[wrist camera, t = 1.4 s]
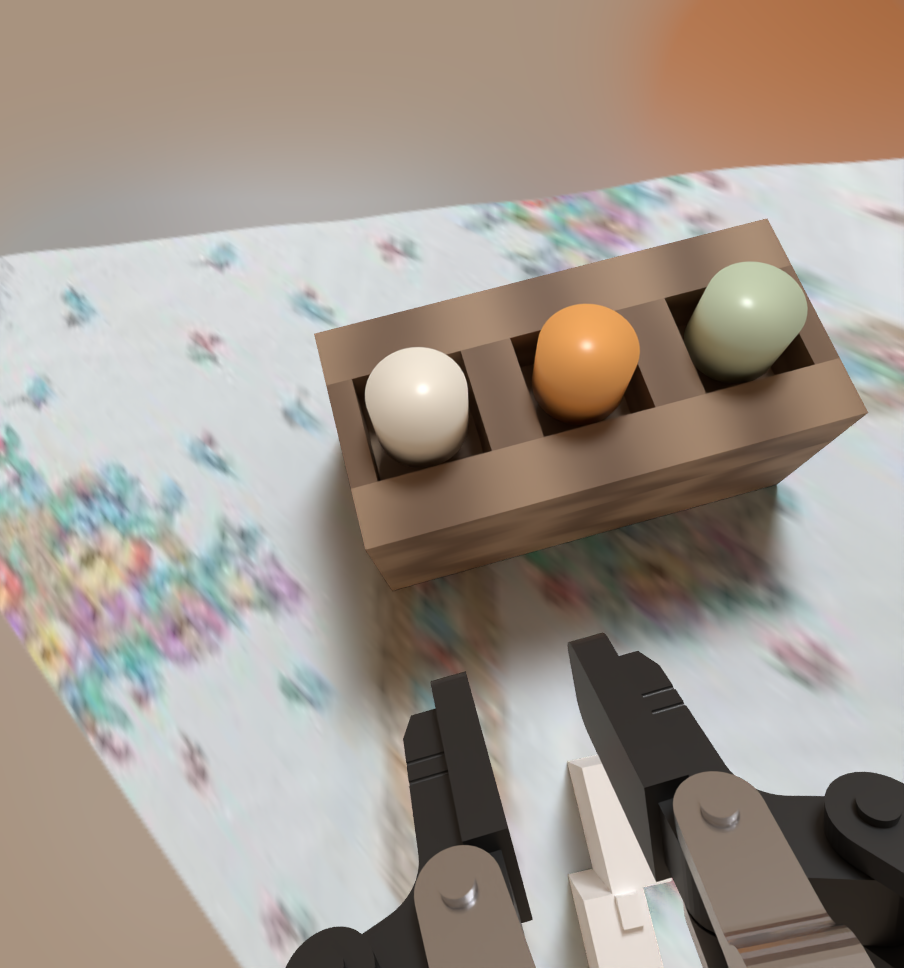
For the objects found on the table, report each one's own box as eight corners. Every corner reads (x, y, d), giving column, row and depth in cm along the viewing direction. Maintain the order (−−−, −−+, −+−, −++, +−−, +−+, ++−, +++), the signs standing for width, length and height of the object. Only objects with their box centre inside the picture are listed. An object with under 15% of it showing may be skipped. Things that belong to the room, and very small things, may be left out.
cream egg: (454, 372, 30) (452, 336, 28) (479, 453, 29) (480, 424, 26) (366, 395, 30) (354, 361, 27) (387, 478, 29) (377, 452, 26)
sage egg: (754, 294, 31) (782, 251, 28) (791, 370, 30) (824, 333, 27) (670, 315, 31) (689, 274, 28) (704, 393, 30) (728, 359, 27)
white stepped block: (679, 1136, 28) (726, 1234, 23) (432, 984, 30) (423, 1042, 25) (795, 782, 32) (858, 794, 27) (571, 669, 34) (589, 659, 29)
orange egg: (606, 332, 31) (619, 293, 28) (637, 411, 30) (654, 378, 27) (520, 355, 31) (524, 317, 28) (547, 435, 29) (555, 405, 26)
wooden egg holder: (705, 325, 40) (767, 218, 31) (777, 484, 37) (868, 412, 28) (350, 418, 39) (314, 333, 30) (392, 590, 35) (365, 550, 27)
